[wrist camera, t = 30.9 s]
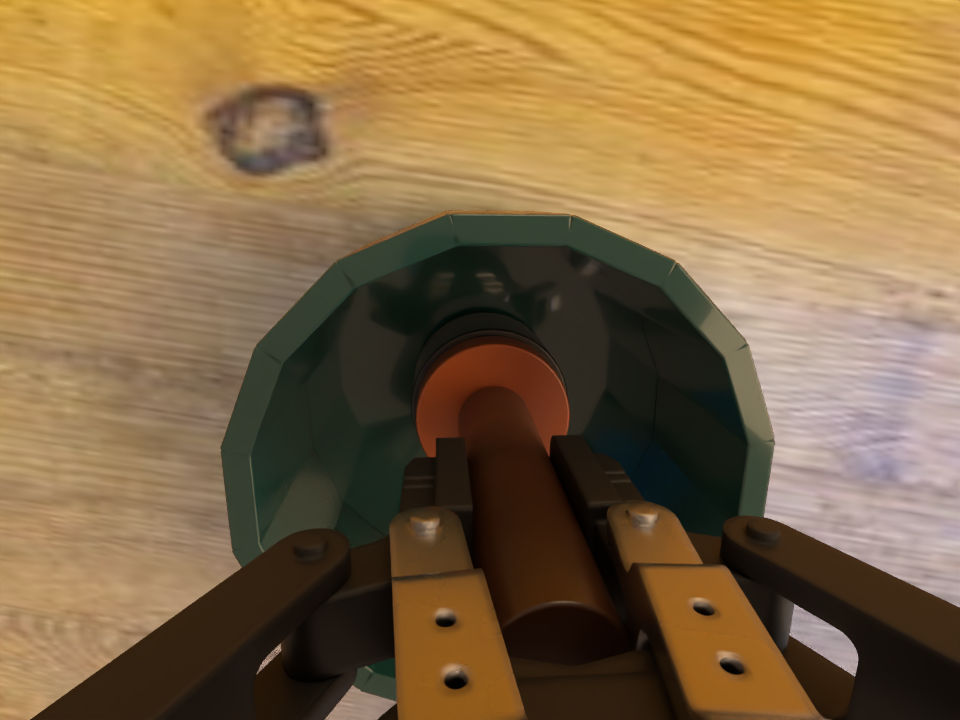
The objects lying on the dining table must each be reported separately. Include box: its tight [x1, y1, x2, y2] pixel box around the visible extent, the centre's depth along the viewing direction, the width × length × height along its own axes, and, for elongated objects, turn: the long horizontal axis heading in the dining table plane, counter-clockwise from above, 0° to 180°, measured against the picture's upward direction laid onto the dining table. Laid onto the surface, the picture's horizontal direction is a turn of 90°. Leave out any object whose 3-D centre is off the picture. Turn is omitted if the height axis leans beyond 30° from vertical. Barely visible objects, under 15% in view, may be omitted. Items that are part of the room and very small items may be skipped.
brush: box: [411, 313, 629, 666], centre depth 15 cm, size 5×5×14 cm
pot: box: [221, 210, 775, 701], centre depth 20 cm, size 15×15×8 cm
